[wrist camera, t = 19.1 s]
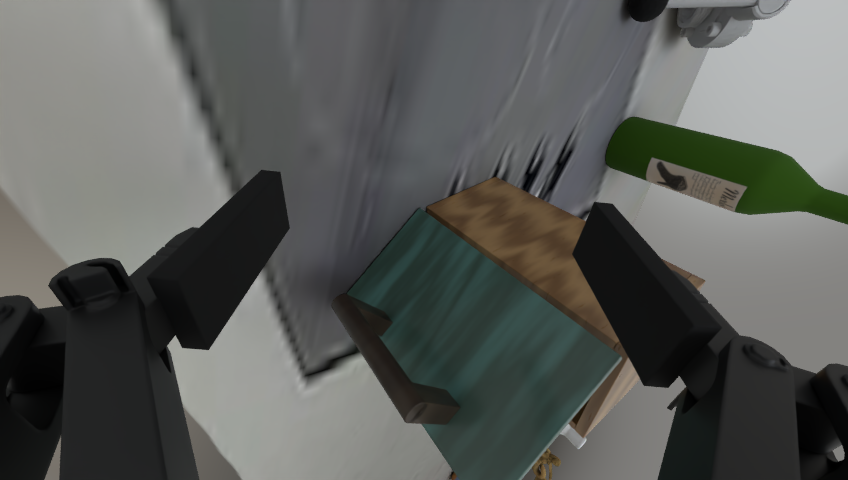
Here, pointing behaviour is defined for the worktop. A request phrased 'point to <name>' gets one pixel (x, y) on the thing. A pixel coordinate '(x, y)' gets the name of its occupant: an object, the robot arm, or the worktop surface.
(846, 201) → the wine bottle
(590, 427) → the cabinet
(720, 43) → the mechanical valve
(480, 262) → the door
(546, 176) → the worktop surface
